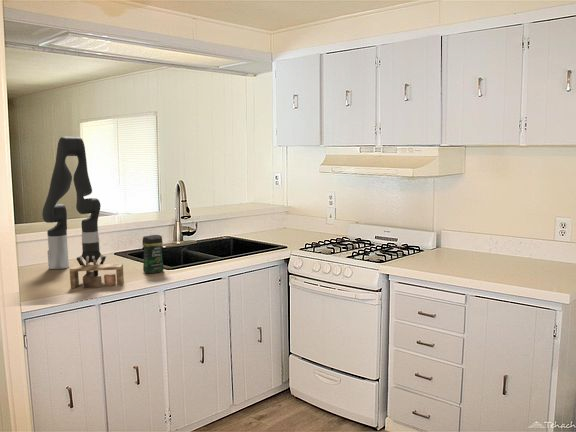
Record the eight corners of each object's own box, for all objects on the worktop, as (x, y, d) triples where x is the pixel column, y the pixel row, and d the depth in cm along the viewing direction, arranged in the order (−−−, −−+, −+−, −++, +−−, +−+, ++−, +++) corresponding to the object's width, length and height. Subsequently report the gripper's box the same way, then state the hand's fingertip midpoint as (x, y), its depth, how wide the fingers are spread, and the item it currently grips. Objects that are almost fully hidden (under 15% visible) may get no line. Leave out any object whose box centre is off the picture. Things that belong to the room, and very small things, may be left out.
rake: (83, 288, 244) (82, 277, 244) (92, 277, 264) (92, 267, 263) (100, 287, 245) (100, 276, 245) (108, 276, 265) (108, 266, 264)
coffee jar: (148, 274, 268) (146, 237, 266) (141, 272, 274) (139, 235, 272) (166, 271, 274) (164, 235, 272) (158, 269, 280) (157, 233, 278)
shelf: (70, 288, 245) (69, 269, 244) (74, 284, 252) (73, 265, 250) (121, 285, 248) (120, 266, 247) (123, 281, 255) (122, 263, 254)
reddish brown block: (103, 286, 248) (103, 276, 247) (105, 283, 253) (105, 273, 252) (115, 285, 248) (114, 275, 248) (116, 282, 253) (116, 273, 253)
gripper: (72, 242, 251) (75, 279, 253) (104, 241, 253) (106, 278, 255) (76, 240, 258) (79, 275, 261) (107, 239, 260) (109, 274, 263)
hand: (92, 277), depth 258 cm, fingers closed on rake, 2 cm apart
